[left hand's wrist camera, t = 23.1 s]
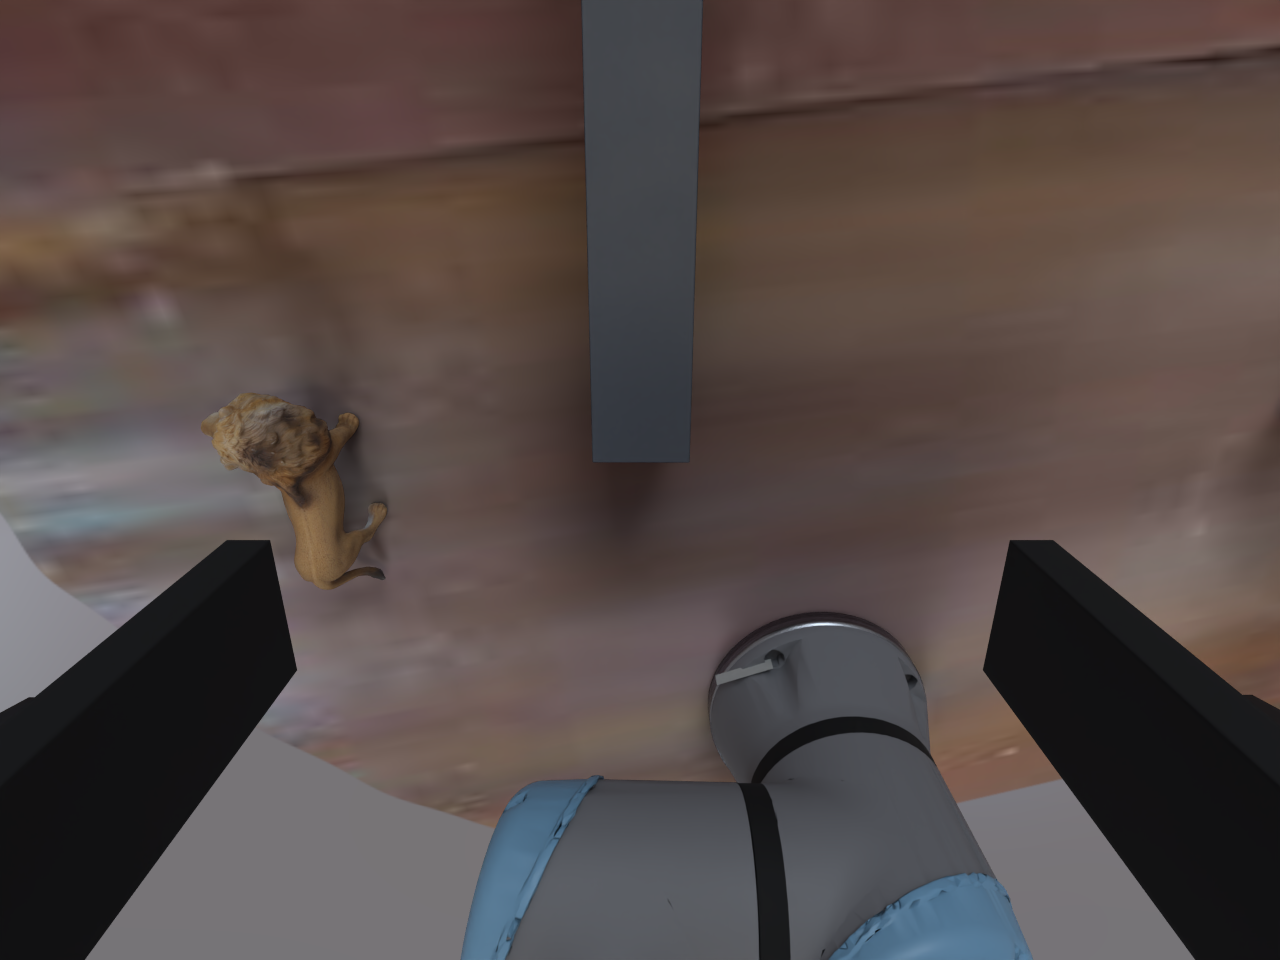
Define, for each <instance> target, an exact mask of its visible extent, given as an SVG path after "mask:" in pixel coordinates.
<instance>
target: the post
mask: <svg viewBox="0 0 1280 960" xmlns="http://www.w3.org/2000/svg"><path fill="white" fill-rule="evenodd" d="M581 6H582V47H583V88H584V129H585V171H586V212H587V253H588V294H589V335H590V376H591V417H592V459H593V462H690V427H691V393H692V359H693V325H694V290H695V256H696V222H697V188H698V153H699V119H700V85H701V51H702V16H703V0H581Z"/></svg>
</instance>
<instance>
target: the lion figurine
mask: <svg viewBox="0 0 1280 960" xmlns="http://www.w3.org/2000/svg"><path fill="white" fill-rule="evenodd" d="M358 426H359V420H358V418H357V417H356V416H355V415H354V414H351V413H345V414H341V415H339V423H338V424H337V426H336V428H335V429H332V430H330V431H329V430H328V427H327V423H326V422H325V421H323V420H321V419H317V418H316V417H315V415H314V412H313V411H312V410H310V409H306V407H304V406H299V405H292V404H290V403H289V402H285V401H283V400H282V399H279V398H277V397H275V396H270V395H260V394H256V393H242V394H240V395H239V396H238V397H237V398H236V399H235V400H233V401H232V402H231V403H229V404H228V406H226V407H223V408H221V409H220V410H219V411H218V412H216V413H213V414H211V415H210V416H209V417H208V418H207V419H205V420H203V422H202V424H201V430H202V432H203V433H204V434H205V435H208V436H211V437H213V440H212V444H213V447H214V448H215V449H217V451H218V454H219V455H220V456H221V458H220V461H221V463H222V464H223V465H224V466H225V468H226V469H227V470H233V469H235V468H238V467H239V468H240V469H242V470H244V471H247V472H251V473H254V474H255V475H256V476H258V477H259V478H260V479H261V482H262V483H264V484H267V485H271V486H273V485H274V486H276V487H277V488H278V489H279V490H280V491H281V492H282V496H283V500H284V504H285V507H286V510H287V513H288V516H289V518H290V520H291V522H292V524H293V527H294V531H295V535H296V550H295V558H294V562H295V566H296V569H297V571H298V572H299V574H300V575H301V577H302V578H303V579H304V580H306V581H309V582H313V583H314V584H315V585H316V586H317V587H319V588H321V589H324V590H330V589H334V588H336V587H338V586H340V585H342V584H344V583H345V582H347V581H349V580H351V579H353V578H355V577H357V576H362V575H368V576H371V577H373V578H378V579H381V580H384V579H385V576H384V574H383V572H382V570H381V569H378V568H375V567H364V568H358V569H354V570H352V571H348V572H346V571H347V570H348V569H349V568H350V567H351V566H352V564H353V563H354V561H355V560H356V558H357V556H358V553H359V551H360V549H361V546H362V545H363V544H364V543H365V542H368V541H369V540H371V538H372V537H373V535H374V533H375V531H376V530H377V528H378V526H379V525H380V524H381V522H382V521H383V520H384V518H385V516H386V514H387V507H386V506H385V505H384V504H383V503H372V504H371V505H370V506H369V508H368V522H367V524H366V526H365V527H364V528H363V529H359V530H354V531H351V532H349V533H345V532H344V529H343V518H344V509H345V497H344V490H343V486H342V482H341V480H340V477H339V475H338V473H337V470H336V468H335V466H334V462H335V460H336V458H337V457H338V455H339V452H340V451H341V449H342V448H343V446H344V445H345V443H346V442H347V441H348V440H349V439H350V438H351V437H352V435H353V434H354V433H355V431H356V430H357V428H358ZM345 572H346V573H345Z"/></svg>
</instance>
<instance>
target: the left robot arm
mask: <svg viewBox="0 0 1280 960" xmlns="http://www.w3.org/2000/svg"><path fill="white" fill-rule="evenodd" d="M296 671H297V667H296V663H295V658H294V653H293V648H292V643H291V639H290V634H289V629H288V624H287V619H286V615H285V610H284V605H283V600H282V595H281V591H280V586H279V581H278V576H277V571H276V567H275V562H274V557H273V552H272V547H271V543H270V540H227V541H225V542H224V543H223V544H222V545H220V546H219V547H218V548H217V549H216V550H214V551H213V552H212V553H211V554H209V555H208V556H207V557H206V558H205V559H203V560H202V561H201V562H200V563H198V564H197V565H196V566H195V567H194V568H192V569H191V570H190V571H189V572H187V573H186V574H185V575H184V576H183V577H181V578H180V579H179V580H178V581H176V582H175V583H174V584H173V585H172V586H170V587H169V588H168V589H167V590H165V591H164V592H163V593H162V594H161V595H159V596H158V597H157V598H156V599H154V600H153V601H152V602H151V603H150V604H148V605H147V606H146V607H145V608H143V609H142V610H141V611H140V612H139V613H137V614H136V615H135V616H134V617H132V618H131V619H130V620H129V621H127V622H126V623H125V624H124V625H123V626H121V627H120V628H119V629H118V630H117V631H115V632H114V633H113V634H112V635H110V636H109V637H108V638H107V639H106V640H104V641H103V642H102V643H101V644H99V645H98V646H97V647H96V648H95V649H93V650H92V651H91V652H90V653H88V654H87V655H86V656H85V657H83V658H82V659H81V660H80V661H79V662H77V663H76V664H75V665H74V666H73V667H71V668H70V669H69V670H68V671H66V672H65V673H64V674H63V675H61V676H60V677H59V678H58V679H57V680H55V681H54V682H53V683H52V684H50V685H49V686H48V687H47V688H46V689H44V690H43V691H42V692H41V693H39V694H38V695H37V696H36V697H29V698H27V699H25V700H23V701H21V702H19V703H18V704H16V705H14V706H12V707H10V708H8V709H6V710H5V711H3V712H1V713H0V960H85V959H86V957H87V956H88V955H89V953H90V952H91V951H92V949H93V948H94V946H95V945H96V944H97V942H98V941H99V940H100V938H101V937H102V935H103V934H104V933H105V931H106V930H107V929H108V927H109V926H110V925H111V923H112V922H113V920H114V919H115V918H116V916H117V915H118V914H119V912H120V911H121V909H122V908H123V907H124V905H125V904H126V903H127V901H128V900H129V899H130V897H131V896H132V895H133V893H134V892H135V890H136V889H137V888H138V886H139V885H140V884H141V882H142V881H143V880H144V878H145V877H146V875H147V874H148V873H149V871H150V870H151V869H152V867H153V866H154V865H155V863H156V862H157V860H158V859H159V858H160V856H161V855H162V854H163V852H164V851H165V850H166V848H167V847H168V845H169V844H170V843H171V841H172V840H173V839H174V837H175V836H176V834H177V833H178V832H179V830H180V829H181V828H182V826H183V825H184V824H185V822H186V821H187V820H188V818H189V817H190V815H191V814H192V813H193V811H194V810H195V809H196V807H197V806H198V805H199V803H200V802H201V800H202V799H203V798H204V796H205V795H206V794H207V792H208V791H209V790H210V788H211V787H212V785H213V784H214V783H215V781H216V780H217V779H218V777H219V776H220V774H221V773H222V772H223V770H224V769H225V768H226V766H227V765H228V764H229V762H230V761H231V760H232V758H233V757H234V755H235V754H236V753H237V751H238V750H239V749H240V747H241V746H242V744H243V743H244V742H245V740H246V739H247V738H248V736H249V735H250V734H251V732H252V731H253V730H254V728H255V727H256V725H257V724H258V723H259V721H260V720H261V719H262V717H263V716H264V715H265V713H266V712H267V710H268V709H269V708H270V706H271V705H272V704H273V702H274V701H275V700H276V698H277V697H278V695H279V694H280V693H281V691H282V690H283V689H284V687H285V686H286V685H287V683H288V682H289V680H290V679H291V678H292V676H293V675H294V674H295V672H296ZM983 671H984V672H985V674H986V675H987V676H988V678H989V679H990V680H991V682H992V683H993V685H994V686H995V687H996V689H997V690H998V691H999V693H1000V694H1001V695H1002V697H1003V698H1004V700H1005V701H1006V702H1007V704H1008V705H1009V706H1010V708H1011V709H1012V710H1013V712H1014V713H1015V715H1016V716H1017V717H1018V719H1019V720H1020V721H1021V723H1022V724H1023V725H1024V727H1025V728H1026V730H1027V731H1028V732H1029V734H1030V735H1031V736H1032V738H1033V739H1034V740H1035V742H1036V743H1037V745H1038V746H1039V747H1040V749H1041V750H1042V751H1043V753H1044V754H1045V755H1046V757H1047V758H1048V760H1049V761H1050V762H1051V764H1052V765H1053V766H1054V768H1055V769H1056V770H1057V772H1058V773H1059V775H1060V776H1061V777H1062V779H1063V780H1064V781H1065V783H1066V784H1067V785H1068V787H1069V788H1070V790H1071V791H1072V792H1073V794H1074V795H1075V796H1076V798H1077V799H1078V800H1079V802H1080V803H1081V805H1082V806H1083V807H1084V809H1085V810H1086V811H1087V813H1088V814H1089V815H1090V817H1091V818H1092V819H1093V821H1094V822H1095V824H1096V825H1097V826H1098V828H1099V829H1100V830H1101V832H1102V833H1103V835H1104V836H1105V837H1106V839H1107V840H1108V841H1109V843H1110V844H1111V845H1112V847H1113V848H1114V849H1115V851H1116V852H1117V854H1118V855H1119V856H1120V858H1121V859H1122V860H1123V862H1124V863H1125V865H1126V866H1127V867H1128V869H1129V870H1130V871H1131V873H1132V874H1133V875H1134V877H1135V878H1136V880H1137V881H1138V882H1139V884H1140V885H1141V886H1142V888H1143V889H1144V890H1145V892H1146V893H1147V895H1148V896H1149V897H1150V899H1151V900H1152V901H1153V903H1154V904H1155V905H1156V907H1157V908H1158V910H1159V911H1160V912H1161V914H1162V915H1163V916H1164V918H1165V919H1166V920H1167V922H1168V923H1169V925H1170V926H1171V927H1172V929H1173V930H1174V931H1175V933H1176V934H1177V936H1178V937H1179V938H1180V940H1181V941H1182V942H1183V944H1184V945H1185V946H1186V948H1187V949H1188V951H1189V952H1190V953H1191V955H1192V956H1193V957H1194V959H1195V960H1280V710H1279V709H1277V708H1276V707H1274V706H1272V705H1270V704H1268V703H1266V702H1264V701H1262V700H1261V699H1259V698H1257V697H1255V696H1253V695H1242V694H1241V693H1239V692H1238V691H1237V690H1236V689H1234V688H1233V687H1232V686H1231V685H1230V684H1228V683H1227V682H1226V681H1225V680H1223V679H1222V678H1221V677H1220V676H1219V675H1217V674H1216V673H1215V672H1214V671H1212V670H1211V669H1210V668H1209V667H1208V666H1206V665H1205V664H1204V663H1203V662H1201V661H1200V660H1199V659H1198V658H1197V657H1195V656H1194V655H1193V654H1192V653H1190V652H1189V651H1188V650H1187V649H1186V648H1184V647H1183V646H1182V645H1181V644H1179V643H1178V642H1177V641H1176V640H1175V639H1173V638H1172V637H1171V636H1170V635H1168V634H1167V633H1166V632H1165V631H1164V630H1162V629H1161V628H1160V627H1159V626H1157V625H1156V624H1155V623H1154V622H1153V621H1151V620H1150V619H1149V618H1148V617H1146V616H1145V615H1144V614H1143V613H1141V612H1140V611H1139V610H1138V609H1137V608H1135V607H1134V606H1133V605H1132V604H1130V603H1129V602H1128V601H1127V600H1126V599H1124V598H1123V597H1122V596H1121V595H1119V594H1118V593H1117V592H1116V591H1115V590H1113V589H1112V588H1111V587H1110V586H1108V585H1107V584H1106V583H1105V582H1104V581H1102V580H1101V579H1100V578H1099V577H1097V576H1096V575H1095V574H1094V573H1093V572H1091V571H1090V570H1089V569H1088V568H1086V567H1085V566H1084V565H1083V564H1082V563H1080V562H1079V561H1078V560H1077V559H1075V558H1074V557H1073V556H1072V555H1071V554H1069V553H1068V552H1067V551H1066V550H1064V549H1063V548H1062V547H1061V546H1060V545H1058V544H1057V543H1056V542H1055V541H1053V540H1010V543H1009V547H1008V552H1007V557H1006V562H1005V567H1004V571H1003V576H1002V581H1001V586H1000V591H999V595H998V600H997V605H996V610H995V615H994V619H993V624H992V629H991V634H990V639H989V643H988V648H987V653H986V658H985V663H984V667H983ZM708 712H709V720H710V728H711V733H712V737H713V741H714V743H715V746H716V748H717V750H718V753H719V755H720V756H721V758H722V760H723V762H724V763H725V765H726V766H727V767H728V768H729V770H730V771H731V773H732V775H733V777H734V778H735V780H736V782H694V781H651V780H607V779H604V777H603V776H599V775H594V776H591V777H590V778H588V779H577V780H548V781H538V782H534V783H531V784H529V785H527V786H525V787H524V788H523V789H521V790H520V791H519V792H517V793H516V794H515V796H514V797H513V798H512V799H511V800H510V802H509V803H508V805H507V806H506V808H505V810H504V812H503V813H502V816H501V817H500V819H499V821H498V824H497V826H496V828H495V831H494V833H493V835H492V838H491V841H490V843H489V846H488V849H487V852H486V855H485V858H484V861H483V865H482V868H481V871H480V875H479V878H478V882H477V885H476V889H475V893H474V897H473V901H472V905H471V909H470V914H469V918H468V923H467V927H466V932H465V938H464V942H463V948H462V954H461V960H1033V958H1032V955H1031V953H1030V950H1029V948H1028V946H1027V943H1026V941H1025V938H1024V936H1023V934H1022V931H1021V929H1020V927H1019V924H1018V922H1017V920H1016V917H1015V915H1014V913H1013V910H1012V906H1011V902H1010V898H1009V896H1008V894H1007V891H1006V890H1005V888H1004V887H1003V886H1002V885H1001V884H1000V883H999V882H998V881H997V879H996V877H995V875H994V873H993V871H992V870H991V868H990V866H989V864H988V862H987V860H986V858H985V856H984V855H983V853H982V851H981V849H980V847H979V845H978V843H977V841H976V840H975V838H974V836H973V834H972V832H971V830H970V828H969V826H968V824H967V823H966V821H965V819H964V817H963V815H962V813H961V811H960V809H959V808H958V806H957V804H956V802H955V800H954V798H953V796H952V794H951V792H950V791H949V789H948V787H947V785H946V783H945V781H944V779H943V777H942V776H941V774H940V772H939V770H938V768H937V766H936V764H935V762H934V760H933V758H932V756H931V754H930V741H929V728H928V714H927V701H926V696H925V691H924V687H923V683H922V680H921V678H920V675H919V673H918V671H917V669H916V667H915V666H914V664H913V662H912V660H911V659H910V657H909V655H908V654H907V652H906V651H905V649H904V648H903V647H902V645H901V644H900V643H899V642H898V641H897V640H896V639H895V638H894V637H893V636H892V635H890V634H889V633H888V632H886V631H885V630H884V629H882V628H880V627H879V626H877V625H875V624H873V623H871V622H869V621H866V620H864V619H861V618H858V617H855V616H851V615H846V614H840V613H831V612H812V613H803V614H798V615H793V616H789V617H785V618H782V619H779V620H776V621H774V622H771V623H769V624H767V625H765V626H763V627H761V628H759V629H757V630H756V631H754V632H752V633H751V634H749V635H748V636H746V637H745V638H744V639H743V640H741V641H740V642H739V643H738V644H737V645H736V646H735V647H734V648H733V649H732V650H731V651H730V652H729V653H728V654H727V656H726V657H725V658H724V659H723V661H722V662H721V664H720V666H719V667H718V669H717V671H716V673H715V675H714V677H713V680H712V683H711V687H710V691H709V697H708Z"/></svg>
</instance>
